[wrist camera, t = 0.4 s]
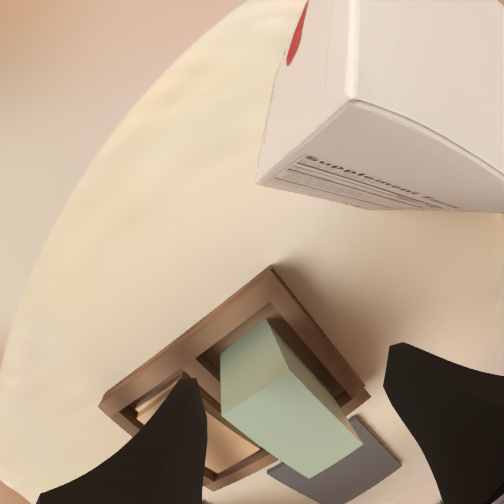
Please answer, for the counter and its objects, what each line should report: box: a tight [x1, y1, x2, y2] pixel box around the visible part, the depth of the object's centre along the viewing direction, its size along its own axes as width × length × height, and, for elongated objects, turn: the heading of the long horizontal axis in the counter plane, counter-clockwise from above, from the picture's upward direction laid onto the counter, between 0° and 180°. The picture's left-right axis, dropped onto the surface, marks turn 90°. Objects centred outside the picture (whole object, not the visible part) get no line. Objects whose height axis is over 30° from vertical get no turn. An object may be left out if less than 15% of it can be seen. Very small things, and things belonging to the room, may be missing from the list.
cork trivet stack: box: [135, 372, 260, 473], centre depth 19 cm, size 5×9×2 cm, turn 38°
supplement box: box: [255, 0, 504, 213], centre depth 12 cm, size 9×9×15 cm
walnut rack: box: [98, 266, 371, 491], centre depth 19 cm, size 17×13×2 cm
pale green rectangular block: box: [220, 319, 363, 479], centre depth 16 cm, size 4×8×7 cm, turn 38°
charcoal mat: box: [267, 416, 402, 504], centre depth 23 cm, size 10×14×1 cm
